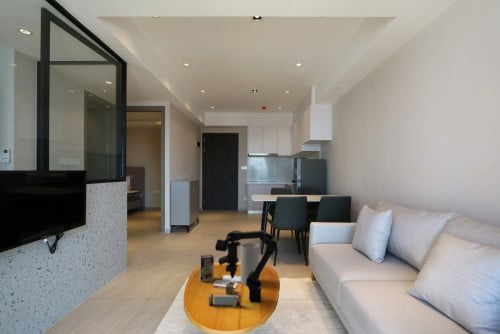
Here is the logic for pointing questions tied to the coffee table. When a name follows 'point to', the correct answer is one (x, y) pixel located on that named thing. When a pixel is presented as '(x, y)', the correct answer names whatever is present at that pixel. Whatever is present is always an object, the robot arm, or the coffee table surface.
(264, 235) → the robot arm
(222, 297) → the grey block
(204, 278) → the coffee box
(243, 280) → the cylinder vase
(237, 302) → the dark grey long piece
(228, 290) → the walnut block
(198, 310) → the coffee table surface
